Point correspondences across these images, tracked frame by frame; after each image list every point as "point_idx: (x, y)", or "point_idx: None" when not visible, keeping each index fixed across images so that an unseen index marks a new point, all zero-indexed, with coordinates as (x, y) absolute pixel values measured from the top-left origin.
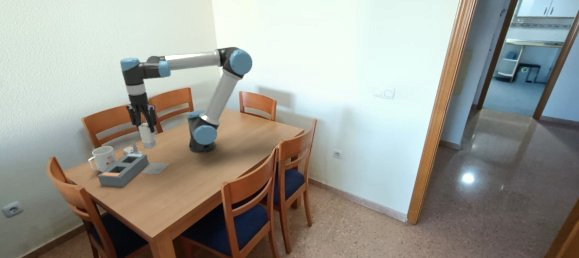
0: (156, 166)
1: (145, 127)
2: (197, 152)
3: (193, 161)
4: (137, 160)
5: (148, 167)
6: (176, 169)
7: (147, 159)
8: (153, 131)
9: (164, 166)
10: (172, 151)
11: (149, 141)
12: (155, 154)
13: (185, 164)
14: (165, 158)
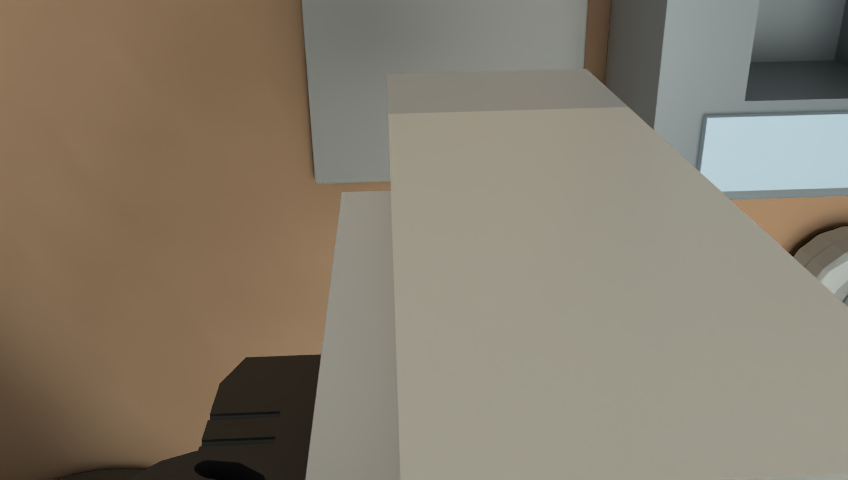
0: None
1: (477, 448)
2: (106, 475)
3: (39, 296)
4: (706, 5)
5: (550, 50)
6: (140, 81)
7: None
8: (221, 418)
9: (335, 108)
10: None
11: (403, 132)
12: None
13: (98, 215)
14: None
